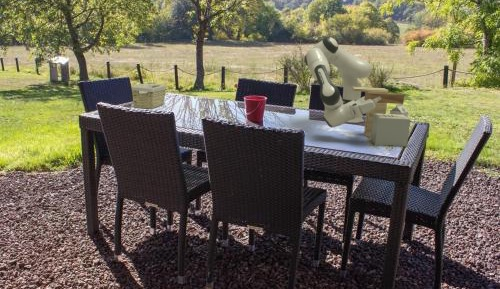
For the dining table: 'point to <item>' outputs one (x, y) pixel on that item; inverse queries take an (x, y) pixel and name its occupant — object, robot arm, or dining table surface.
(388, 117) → the letter
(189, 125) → the dining table surface
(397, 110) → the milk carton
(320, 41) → the robot arm
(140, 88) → the storage basket
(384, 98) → the walnut bar
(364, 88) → the pine shelf
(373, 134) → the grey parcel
